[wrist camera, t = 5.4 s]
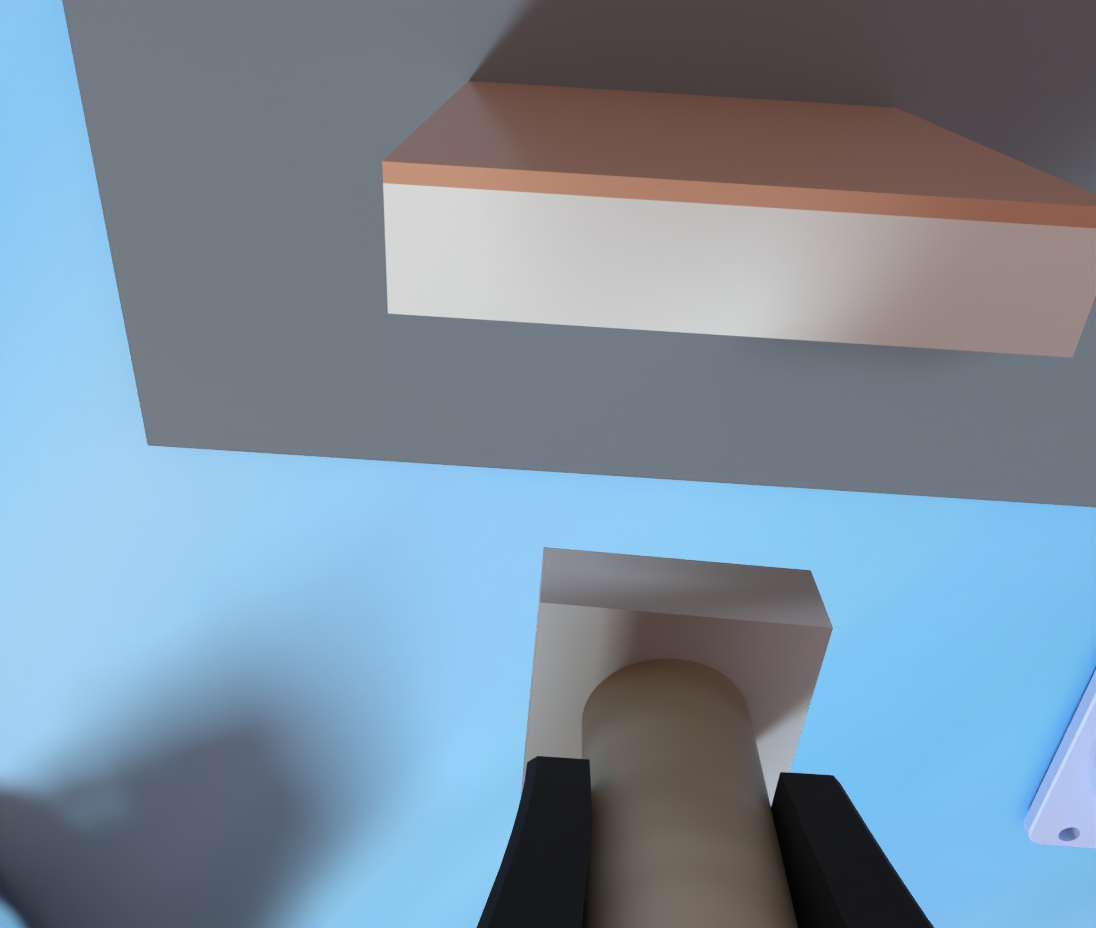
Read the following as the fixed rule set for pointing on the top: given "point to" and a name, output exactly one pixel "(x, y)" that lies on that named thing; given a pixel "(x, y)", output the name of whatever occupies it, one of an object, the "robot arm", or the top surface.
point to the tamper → (677, 727)
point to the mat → (535, 348)
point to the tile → (732, 222)
